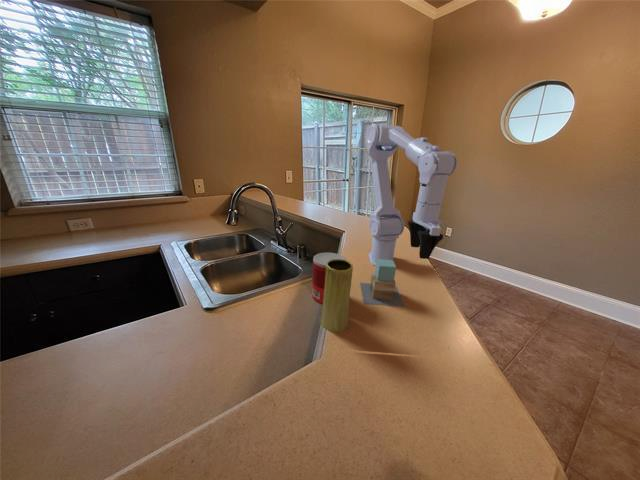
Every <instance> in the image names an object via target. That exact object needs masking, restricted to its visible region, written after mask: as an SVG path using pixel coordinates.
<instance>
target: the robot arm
mask: <svg viewBox="0 0 640 480" xmlns="http://www.w3.org/2000/svg"><path fill="white" fill-rule="evenodd" d="M367 129H368V130H367V133H366V136H365V141H366V149H367V155H368V156H369V160H370V167H371V174H372V182H373V183H372V185H373V191H374V198H375V205H376V209H375V210H374V211H373V212H372V213H371V214H370V215H369V233H370V234H371V236H372V241H371V249H370V252H368V253H367V255H368V259H369V262H370V265H371V266H376V262H377V259H384V260H393V262H394V264H395V266H396V267H397V265H396V262H395V261H394V256H395V255H394V254H395V249H396V245H397V244H396V243H397V239H399V237H400V236H401V235H402V234H403V233H404V230H405V222H404V219H403V218H402V214H401V211H400V210H399V209H398V208H396V207H395V206H394V202H393V196H392V195H393V194H392V188H391V187H392V186H391V180H390V173H389V164H388V158H390V157H392V156H393V155H394V153H395V152H396V150H398V149H397V148H398V147H399V148H401V149H402V150H403V151H405V156H406V158H407V159H408V160H410V162H412V163H413V164H415V165H416V166H417V167H418V168H417V169H418V172H419V178H418V181H419V183H420V184H419V191H418V195H417V196H418V197H417V200H416V207H415V211H414V212H413V214H412V220H407V222H406V223H407V226H408V229H409V238H410V247H411V248H419V252H418V254H419V255H418V256H419V258H420V259H422V260H423V259H424V260H429V258H430V256H431V255H432V253H433V251H434V249H435V248H436V246H437V245H438V244H439V242H441V240H443V238H444V235H443V234H442V233H441V230H442V227H440V225H441V224H443V220H442V219H440V218H439V217H440V214H441V209H442V204H443V201H444V196H445V192H446V188H447V181H448V179H449V176H450V177H451V175H452V174H453V173H454V172H455V170H456V168H457V164H458V160H457V157H456V155H455V154H454V153H453V151H450V150H447V151H441V149H440V146H439V145H433V144H432V143H430V142H429V139H428V137H422V136H421V137H417V138H414V137H413V136H412V135H410V134H409V133H407V132H406V131H405V128H404V127H401V126H400V125H387V124H377V123H373V124H371V125H370V126H369V128H367Z"/></svg>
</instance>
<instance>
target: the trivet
mask: <svg viewBox="0 0 640 480" xmlns="http://www.w3.org/2000/svg"><path fill="white" fill-rule="evenodd" d="M370 284H371V282H369V283H366V282H359V286H360V291H361V296H362V301H363V304H364V305H374V306H375V305H376V306H390V307H403V308H404V307H406V305H405V303H404V301H403V299H402V296H401V294H400V291H399V290H398V287H397V285H396V284H395V289H394V295H393V300H386V299H373V298H372V294H371V290H370Z"/></svg>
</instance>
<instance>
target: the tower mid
mask: <svg viewBox="0 0 640 480" xmlns="http://www.w3.org/2000/svg"><path fill="white" fill-rule="evenodd" d="M370 278H371V279H370V283H371V282H372V285H373V289H374V290H380V291H394V289H395V285H396V281H395V279H394V282H392V281H378V280H377V277H376V274H375V271H372V272H371V277H370Z"/></svg>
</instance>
